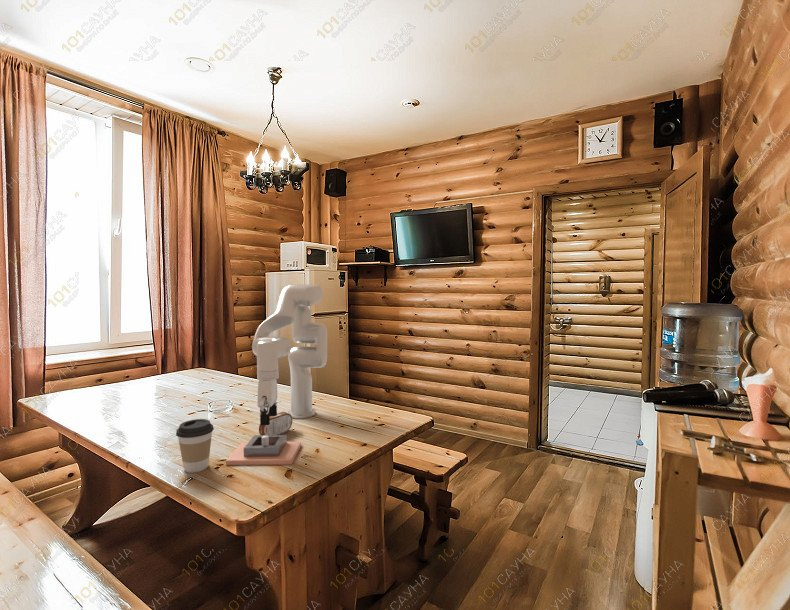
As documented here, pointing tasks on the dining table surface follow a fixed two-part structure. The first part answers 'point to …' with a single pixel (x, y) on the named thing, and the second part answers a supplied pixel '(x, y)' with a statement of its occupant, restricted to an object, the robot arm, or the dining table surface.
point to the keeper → (283, 458)
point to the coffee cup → (195, 444)
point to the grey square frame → (265, 451)
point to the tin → (277, 424)
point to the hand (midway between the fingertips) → (268, 420)
